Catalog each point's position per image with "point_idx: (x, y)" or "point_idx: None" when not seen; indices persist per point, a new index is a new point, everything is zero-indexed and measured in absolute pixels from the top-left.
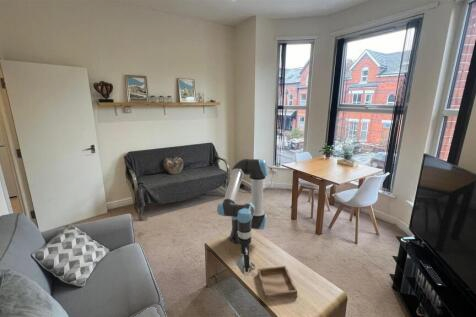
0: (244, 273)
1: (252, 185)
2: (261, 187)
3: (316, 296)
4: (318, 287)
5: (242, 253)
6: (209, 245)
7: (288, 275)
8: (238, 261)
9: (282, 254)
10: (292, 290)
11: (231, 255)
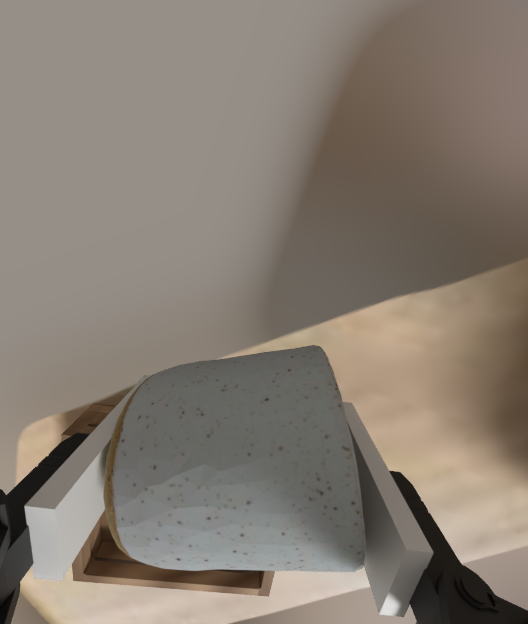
0: (126, 397)
1: None
2: None
3: (92, 594)
4: (137, 617)
5: (426, 574)
6: None
7: (191, 584)
8: (278, 416)
9: None
10: (81, 564)
11: None
